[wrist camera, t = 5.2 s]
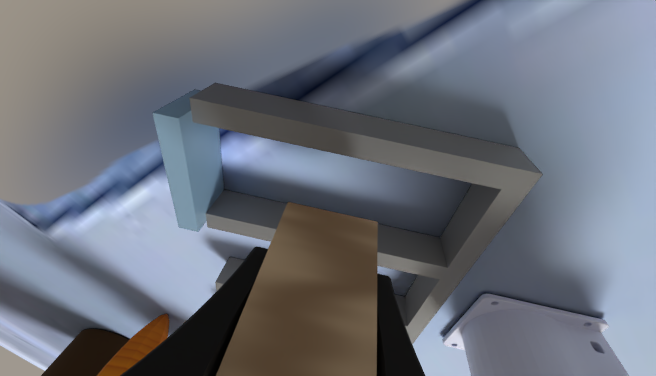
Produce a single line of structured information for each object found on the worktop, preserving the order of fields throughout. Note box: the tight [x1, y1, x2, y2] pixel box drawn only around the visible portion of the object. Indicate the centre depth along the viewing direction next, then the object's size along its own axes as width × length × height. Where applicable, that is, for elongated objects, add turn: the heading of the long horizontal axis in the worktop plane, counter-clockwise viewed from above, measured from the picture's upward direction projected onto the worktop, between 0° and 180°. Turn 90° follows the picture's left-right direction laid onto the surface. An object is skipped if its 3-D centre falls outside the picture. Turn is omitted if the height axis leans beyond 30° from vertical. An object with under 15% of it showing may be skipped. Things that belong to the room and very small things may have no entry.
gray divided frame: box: [153, 83, 542, 344], centre depth 20 cm, size 17×23×4 cm
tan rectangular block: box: [216, 202, 378, 376], centre depth 10 cm, size 4×4×7 cm
